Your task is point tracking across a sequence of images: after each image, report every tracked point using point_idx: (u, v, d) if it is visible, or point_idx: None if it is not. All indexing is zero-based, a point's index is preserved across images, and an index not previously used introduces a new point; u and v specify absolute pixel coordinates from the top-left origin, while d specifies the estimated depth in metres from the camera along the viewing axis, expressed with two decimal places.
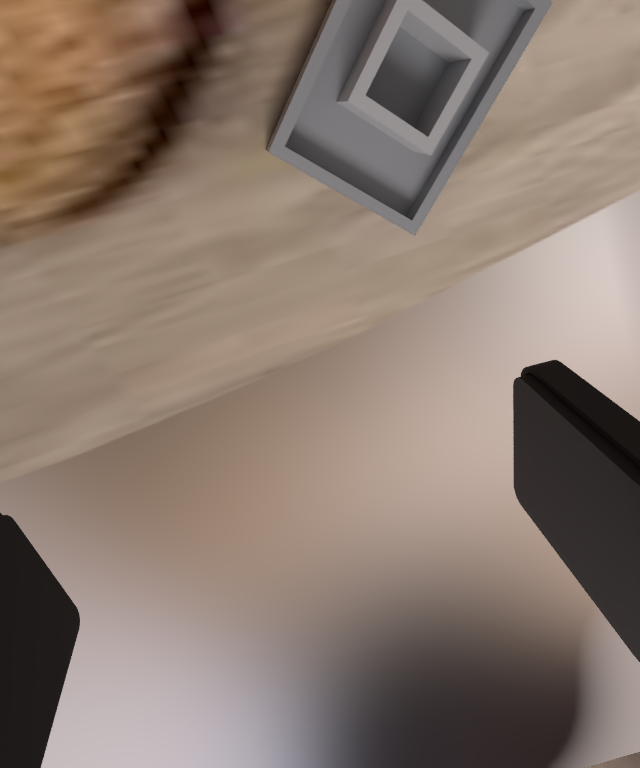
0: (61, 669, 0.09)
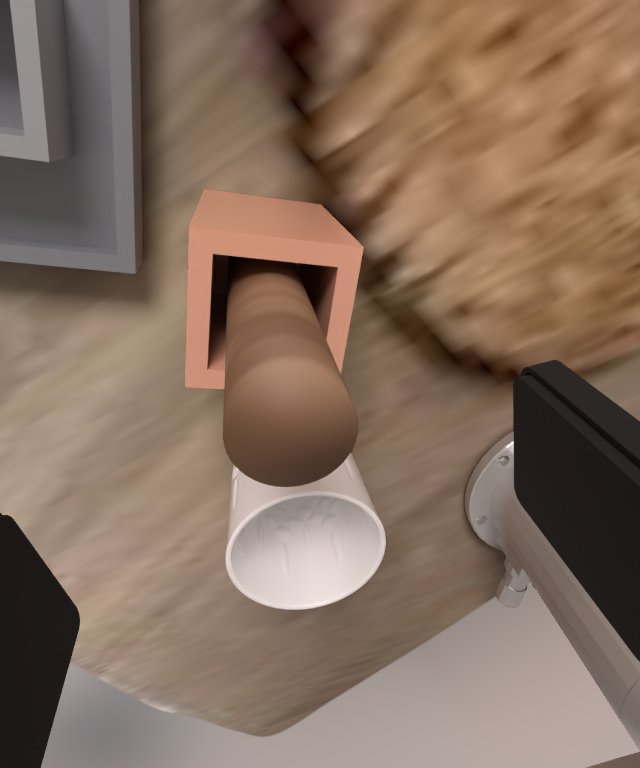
0: (61, 669, 0.09)
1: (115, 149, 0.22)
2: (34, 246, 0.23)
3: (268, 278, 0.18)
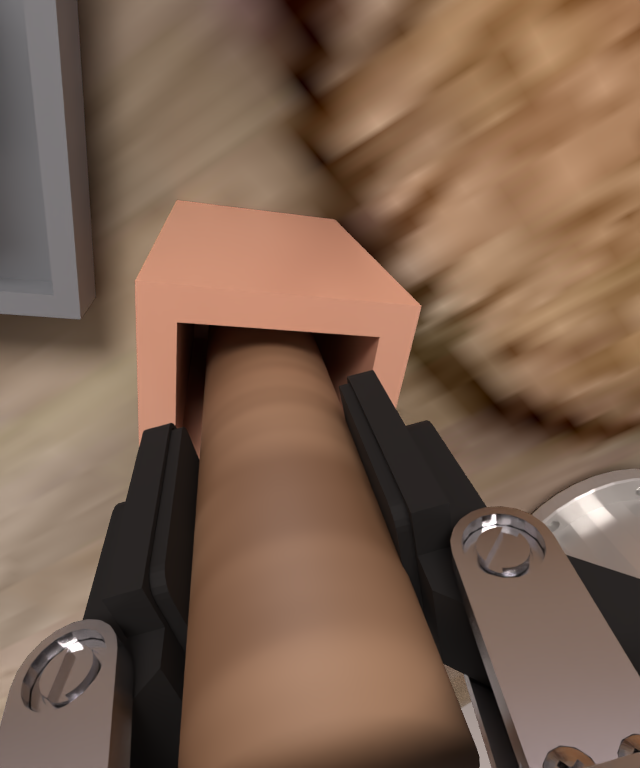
0: None
1: (41, 146, 0.15)
2: None
3: (268, 358, 0.11)
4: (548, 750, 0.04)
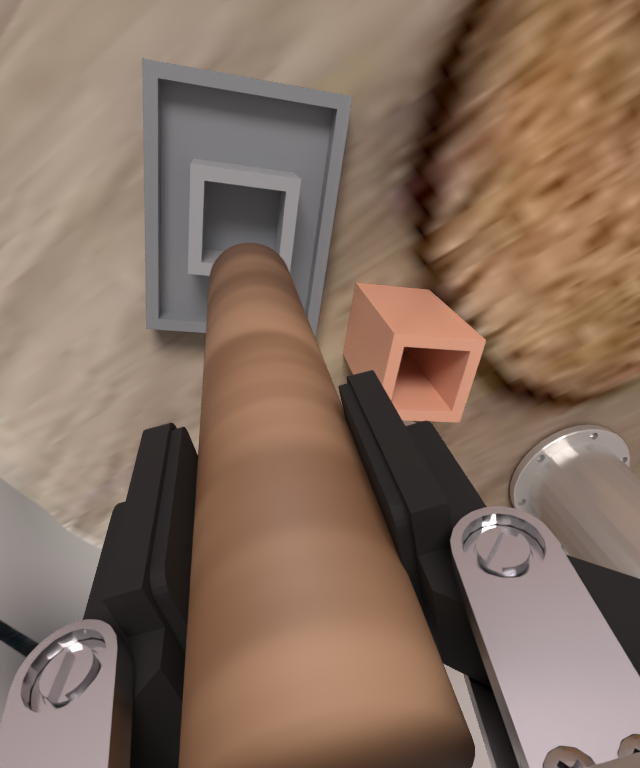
0: None
1: (316, 268, 0.35)
2: None
3: (267, 352, 0.11)
4: (548, 750, 0.04)
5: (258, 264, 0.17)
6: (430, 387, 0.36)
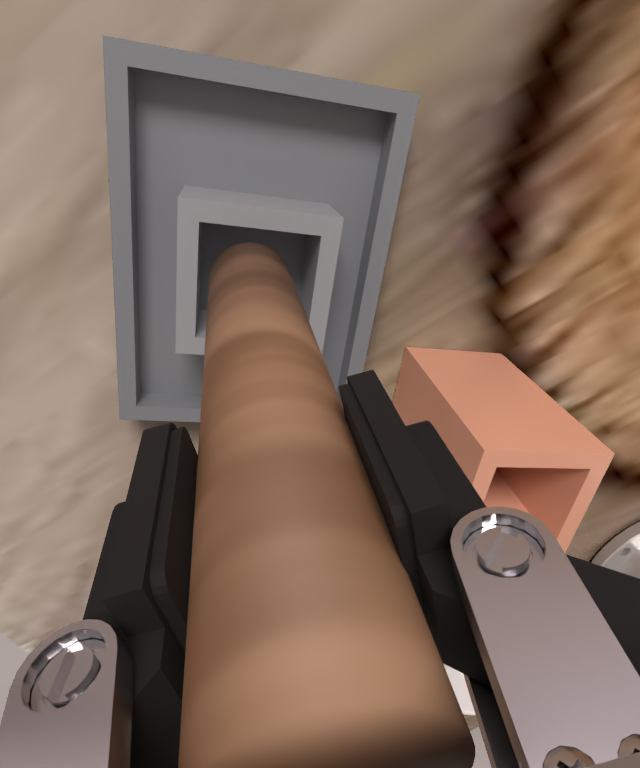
0: None
1: (356, 334, 0.25)
2: None
3: (267, 352, 0.11)
4: (548, 750, 0.04)
5: (258, 263, 0.17)
6: (513, 497, 0.26)
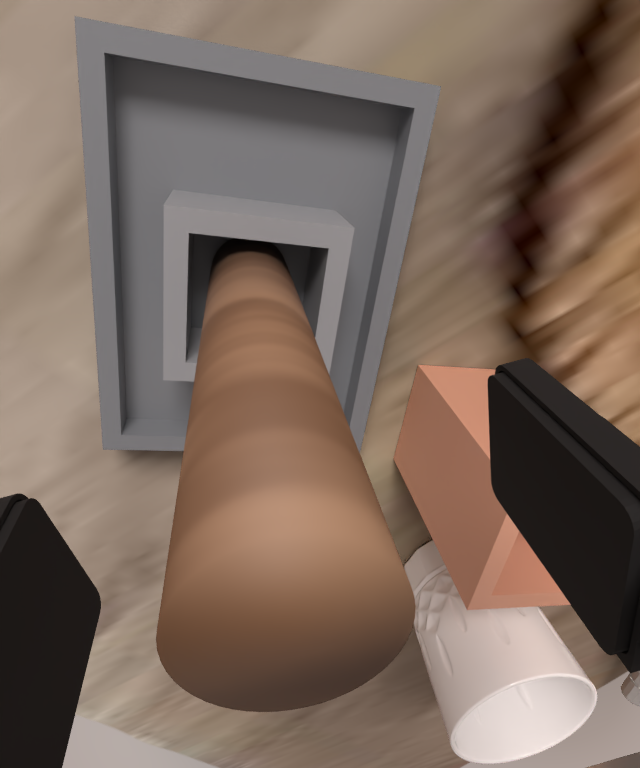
0: (85, 649, 0.09)
1: (366, 355, 0.22)
2: None
3: (256, 312, 0.12)
4: None
5: (255, 250, 0.18)
6: None
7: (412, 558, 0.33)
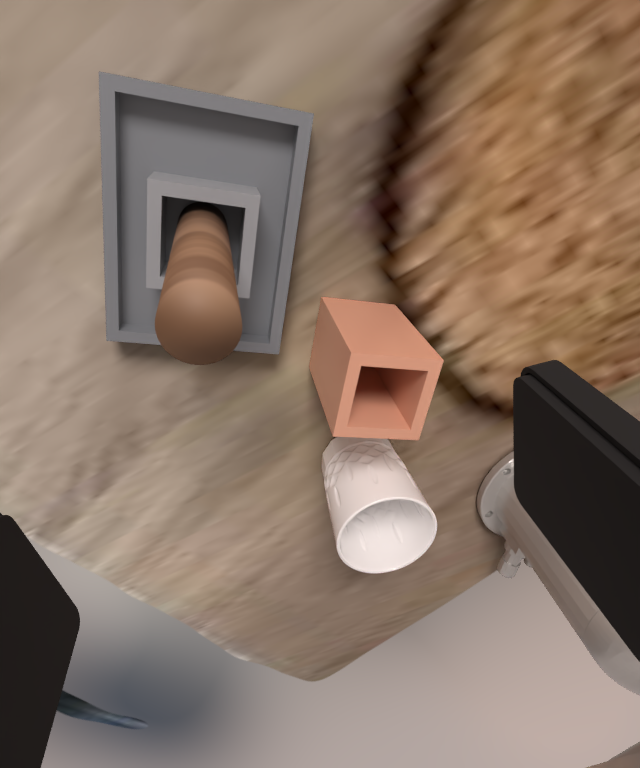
0: (61, 669, 0.09)
1: (279, 282, 0.35)
2: None
3: (198, 236, 0.24)
4: None
5: (203, 210, 0.30)
6: (392, 403, 0.36)
7: (327, 447, 0.45)
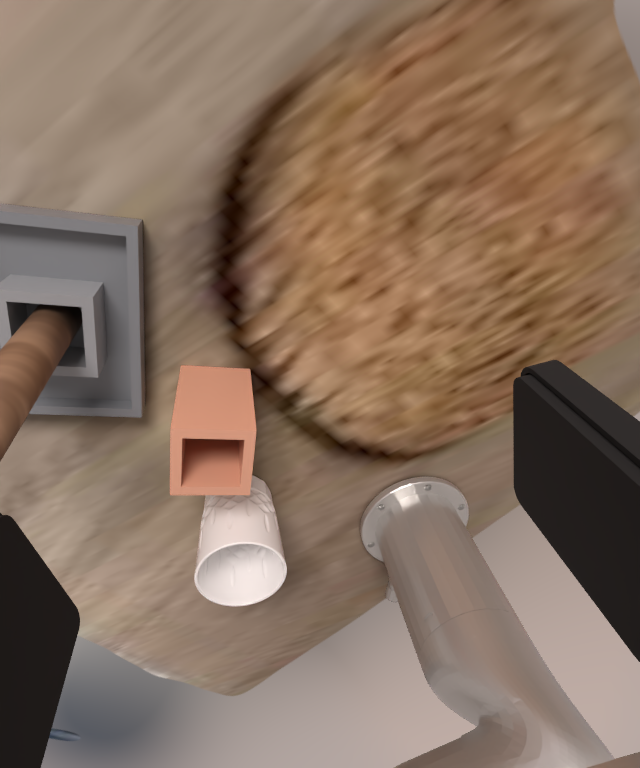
0: (61, 669, 0.09)
1: (131, 359, 0.40)
2: (85, 406, 0.42)
3: (10, 350, 0.30)
4: None
5: (47, 309, 0.36)
6: (235, 460, 0.41)
7: None
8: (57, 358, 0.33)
